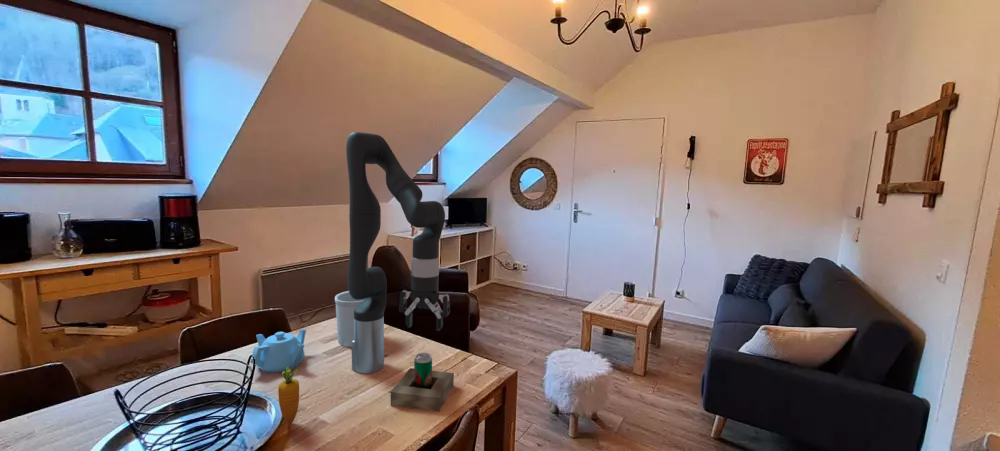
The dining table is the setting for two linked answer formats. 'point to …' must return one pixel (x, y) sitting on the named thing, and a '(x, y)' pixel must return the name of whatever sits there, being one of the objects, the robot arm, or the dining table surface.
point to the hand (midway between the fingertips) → (424, 328)
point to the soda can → (423, 371)
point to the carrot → (289, 396)
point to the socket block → (422, 392)
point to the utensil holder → (346, 317)
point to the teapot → (279, 351)
